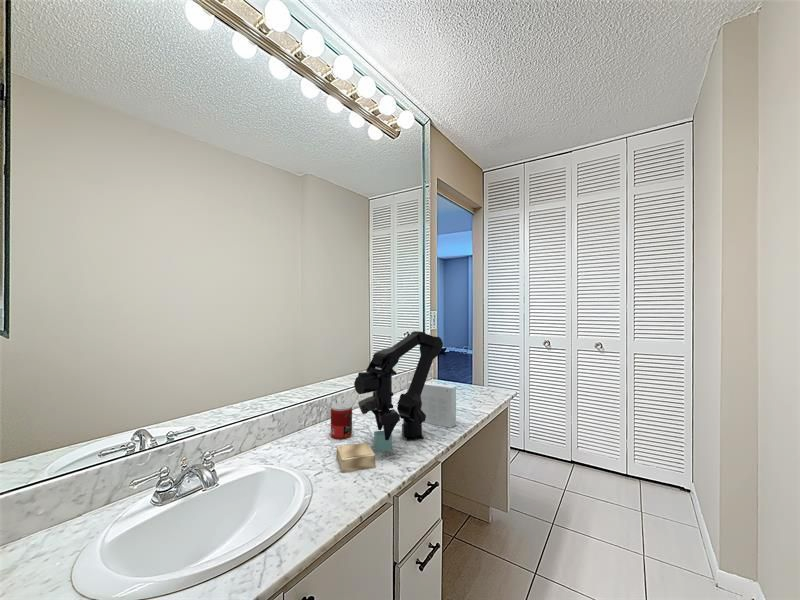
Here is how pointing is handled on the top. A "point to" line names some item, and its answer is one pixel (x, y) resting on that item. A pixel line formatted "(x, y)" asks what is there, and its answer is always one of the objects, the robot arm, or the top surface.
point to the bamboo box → (355, 457)
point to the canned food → (341, 421)
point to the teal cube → (382, 441)
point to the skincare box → (438, 404)
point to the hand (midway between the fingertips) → (383, 434)
